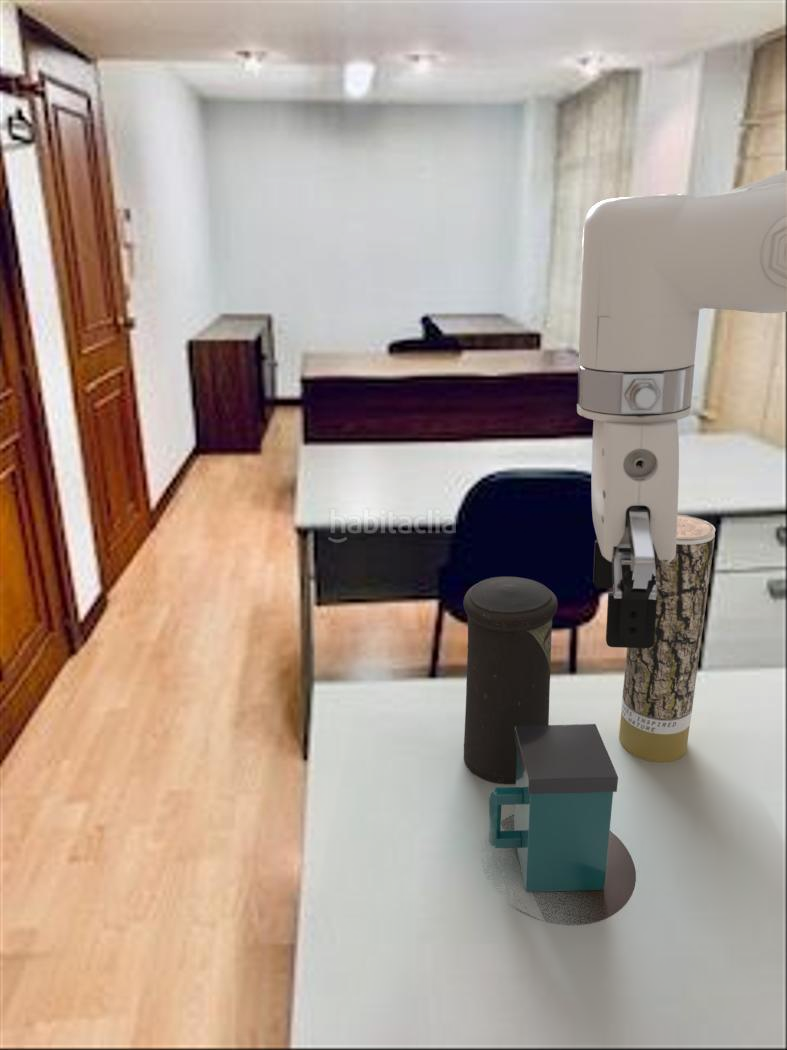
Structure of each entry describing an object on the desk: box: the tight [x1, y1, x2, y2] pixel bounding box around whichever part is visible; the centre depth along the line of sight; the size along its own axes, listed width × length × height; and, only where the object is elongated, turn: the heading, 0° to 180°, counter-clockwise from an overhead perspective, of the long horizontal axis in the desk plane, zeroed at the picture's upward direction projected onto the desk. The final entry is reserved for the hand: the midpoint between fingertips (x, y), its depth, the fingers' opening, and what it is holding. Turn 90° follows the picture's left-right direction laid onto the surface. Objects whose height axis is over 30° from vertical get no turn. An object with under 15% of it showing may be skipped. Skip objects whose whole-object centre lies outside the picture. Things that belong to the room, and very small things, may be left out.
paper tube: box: [618, 513, 716, 763], centre depth 76 cm, size 7×7×25 cm
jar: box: [487, 723, 619, 893], centre depth 63 cm, size 9×7×11 cm
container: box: [462, 576, 559, 785], centre depth 75 cm, size 9×9×20 cm
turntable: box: [481, 814, 637, 926], centre depth 65 cm, size 13×13×1 cm
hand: (620, 613), depth 58 cm, fingers open, 9 cm apart
